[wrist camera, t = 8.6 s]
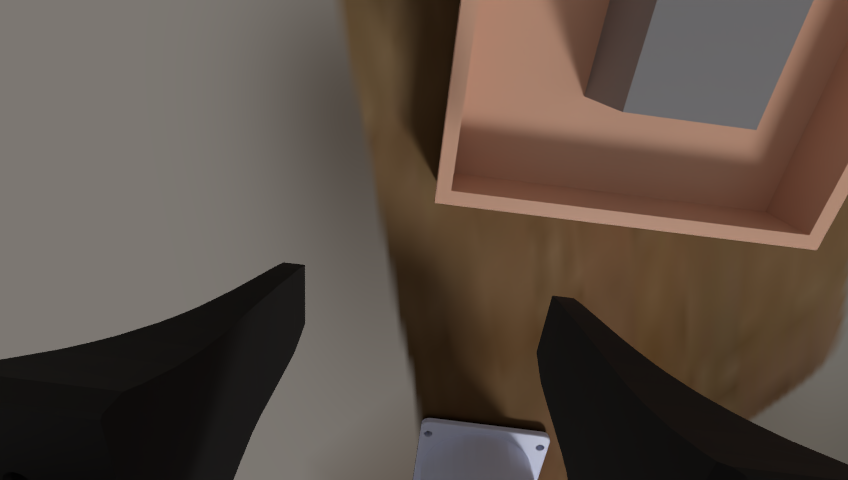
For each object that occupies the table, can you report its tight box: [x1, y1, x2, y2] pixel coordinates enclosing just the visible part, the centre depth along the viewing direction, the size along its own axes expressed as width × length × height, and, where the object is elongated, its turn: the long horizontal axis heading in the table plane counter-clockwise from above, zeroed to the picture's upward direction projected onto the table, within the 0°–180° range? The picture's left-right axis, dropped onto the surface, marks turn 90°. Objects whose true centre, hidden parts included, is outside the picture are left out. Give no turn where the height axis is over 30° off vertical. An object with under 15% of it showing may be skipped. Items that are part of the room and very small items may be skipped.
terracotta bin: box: [435, 0, 848, 250], centre depth 16 cm, size 14×16×3 cm
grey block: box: [584, 0, 814, 130], centre depth 15 cm, size 4×4×4 cm
